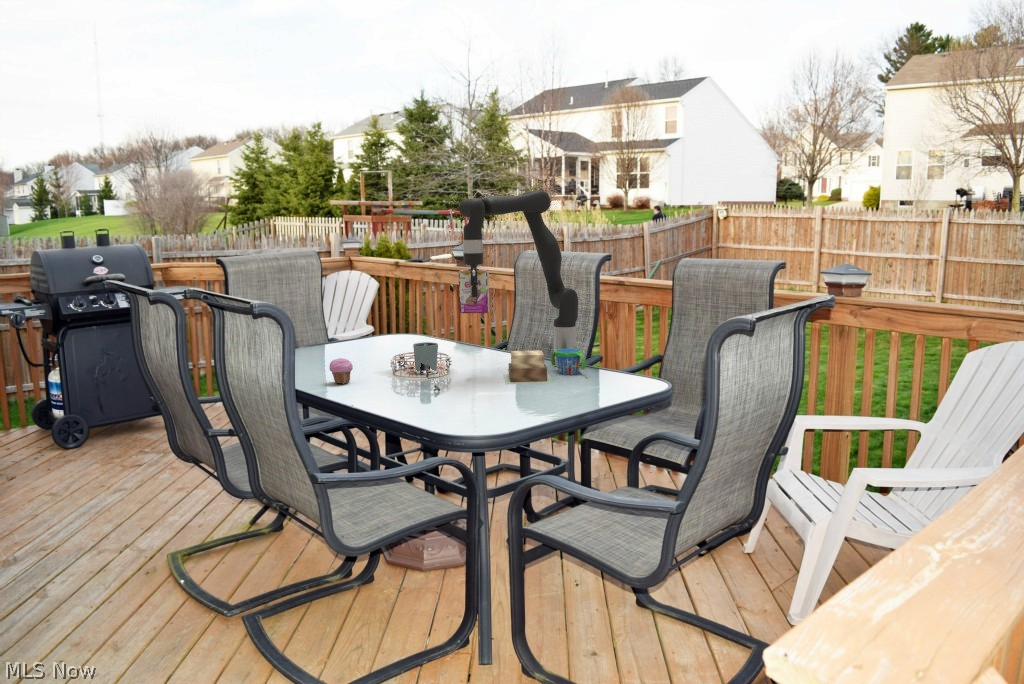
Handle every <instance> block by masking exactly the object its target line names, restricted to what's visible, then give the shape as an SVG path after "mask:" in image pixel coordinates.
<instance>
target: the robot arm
mask: <svg viewBox="0 0 1024 684" xmlns="http://www.w3.org/2000/svg"><path fill="white" fill-rule="evenodd" d="M551 204H552V203H551V196H550V195H549V193H547V192H546V191H545V190H541V189H540V190H539V189H537V190H529V191H525V192H523V194H522V195H500V196H499V195H496V196H488V197H482V198H481V197H479V198H477V197H473V198H472V197H471V198H465V199H462V200H461V202H460V203H459V205H458V211H459V213H460V214H461V216H463V217H465V218H468V223H467V224H464V226H463V228H462V230H463V231H462V233H463V243H462V244H463V245H462V248H463V249H462V251H463V252H462V253H463V254H462V255H463V264H464V265H465V266H466V265H467V266H470V268H469V269H468V270H469V271H471V272H470V273H471V274H470V273H469V277H470V282H471V291H472V297H477V286H478V284H477V281H478V280H479V277H477V273H478V271H479V270H480V268H478V267H477V266H478V265H479V266H480V265H483V264H484V244H483V230H482V229H483V226H484V221H485V216H498V215H506V214H512V213H518V212H520V213H521V212H522V214H523V216H524V217H525V220H526V223H527V225H528V228H529V230H530V232H531V236H532V239H533V242H534V245H535V248H536V252H537V255H538V259H539V262H540V265H541V269H542V271H543V275H544V278H545V283H546V287H547V292H548V297H549V301H550V304H551V305H552V307H554V309H557V310H558V316H557V317H556V318H555V319H554V320H553V353H554V352H555V351H556V350H559V349H578V348H577V347H578V346H577V344H576V343H577V338H576V336H577V335H576V334H577V333H576V332H577V331H576V329H577V320H578V318H579V317H578V315H579V296H578V293H577V291H576V290H575V289H573V288H569V287H565V283H564V282H563V279H562V276H561V268H562V261H563V260H562V259H563V257H562V252H561V248H560V246H559V242H558V240H557V238H556V237H555V234H553V232H551V230H550V229H549V227H548V226H547V225H546V223H545V221H544V219H543V216H542V214H543V213H545V212H546V211H548V210H549V209H550V207H551ZM472 281H476V283H472ZM555 362H556V365H554V366H557V367H556V368H558V365H557V357H556V356H555Z"/></svg>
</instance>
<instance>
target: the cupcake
mask: <svg viewBox="0 0 1024 684" xmlns="http://www.w3.org/2000/svg"><path fill="white" fill-rule="evenodd" d="M353 366H354V365H353V364H352V362H351V361H350V360H349V359H347V358H342V357H339V358H335V359H333V360H331V361H330V363H329V371H330V372H331V375H332V377H333V380H334V383H335V384H336V383H346V384H348V383H349V382H350V380H351V371H353ZM347 382H348V383H347Z"/></svg>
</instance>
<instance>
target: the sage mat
mask: <svg viewBox="0 0 1024 684" xmlns="http://www.w3.org/2000/svg"><path fill="white" fill-rule="evenodd" d="M502 375H503V379H504V383H505V385H521V384H522V385H524V384H525V385H526V384H527V385H528V384H554V381H553V379H552V377H551V375H550V373H549V372H547V381H536V382H510V379H509V373H508V374H507V373H504V374H502Z"/></svg>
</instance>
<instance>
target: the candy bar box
mask: <svg viewBox="0 0 1024 684" xmlns="http://www.w3.org/2000/svg"><path fill="white" fill-rule="evenodd" d="M470 272H471V271H469V269H461V270H458V291H459V292H458V293H459V295H458V296H459V302H458V304H459V314H489V313H490V312H491V311H490V270H489V269H479V271H478V273H477V277H479V280H478V281H477V284H478V286H477V297H472V291H471V282H470V277H469V273H470ZM470 274H471V273H470ZM472 283H476V281H472Z"/></svg>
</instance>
